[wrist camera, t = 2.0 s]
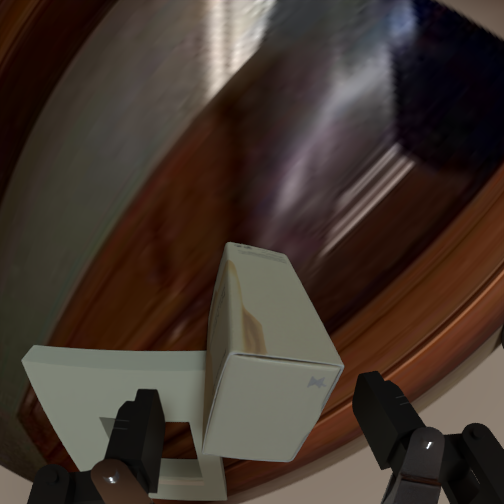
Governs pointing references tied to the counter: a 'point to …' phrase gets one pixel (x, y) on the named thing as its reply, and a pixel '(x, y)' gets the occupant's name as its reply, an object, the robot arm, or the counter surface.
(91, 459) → the socket board
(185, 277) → the counter surface
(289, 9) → the counter surface
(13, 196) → the counter surface
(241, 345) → the skincare box
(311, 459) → the counter surface
